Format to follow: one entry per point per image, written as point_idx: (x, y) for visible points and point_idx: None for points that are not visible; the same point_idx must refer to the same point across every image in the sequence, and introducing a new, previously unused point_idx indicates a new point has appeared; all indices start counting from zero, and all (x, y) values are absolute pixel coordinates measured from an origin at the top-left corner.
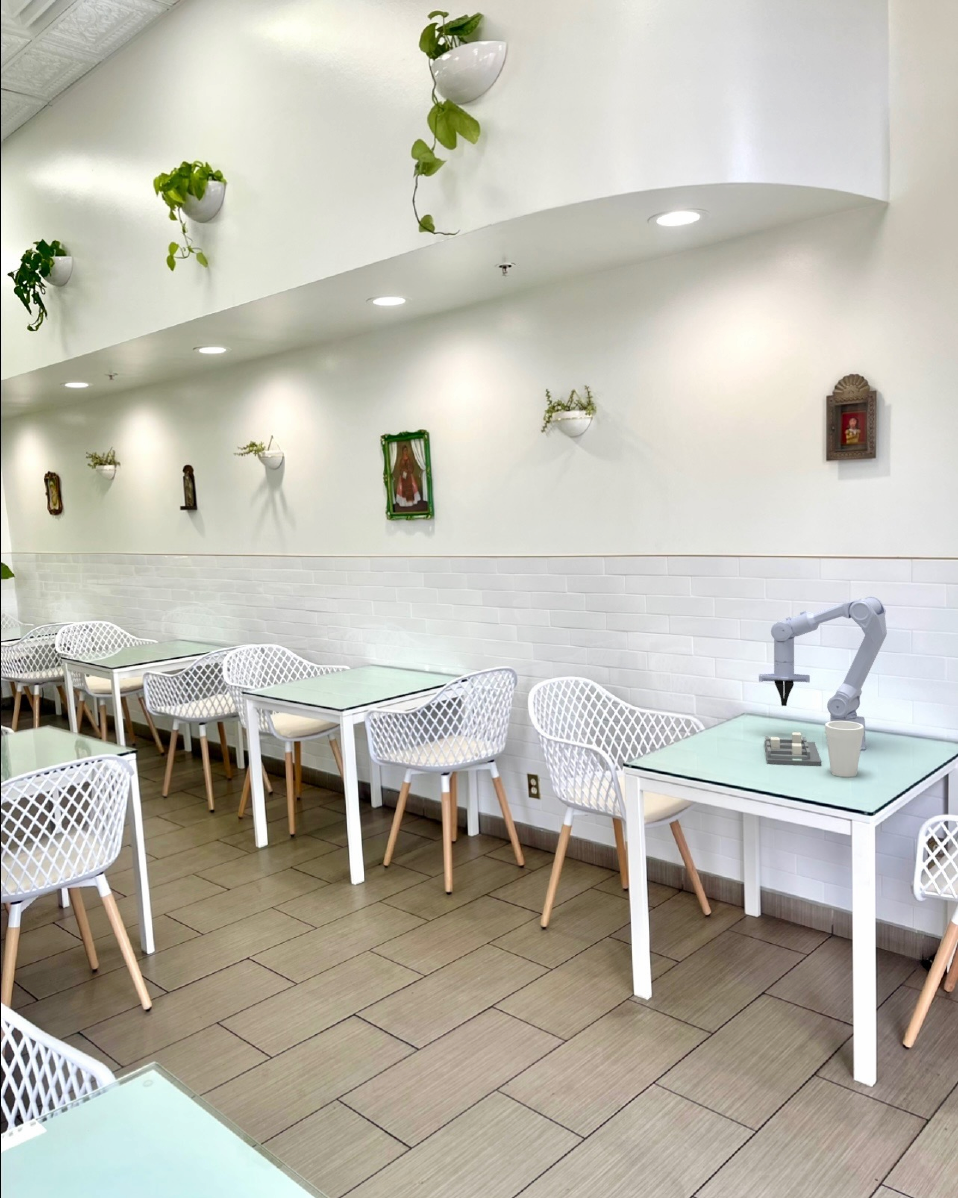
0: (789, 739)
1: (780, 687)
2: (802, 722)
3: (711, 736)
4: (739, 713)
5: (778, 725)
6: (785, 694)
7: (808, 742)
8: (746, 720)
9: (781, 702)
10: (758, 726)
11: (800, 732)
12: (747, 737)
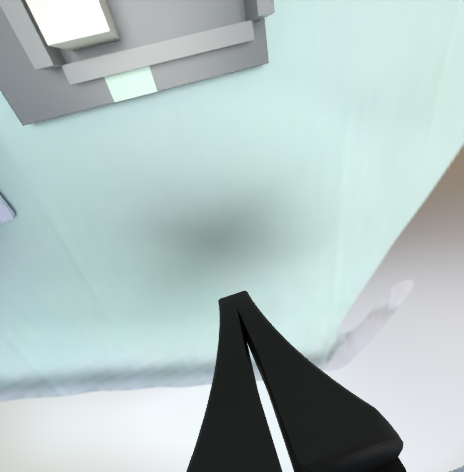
0: (138, 55)
1: (322, 416)
2: (192, 364)
3: (445, 125)
4: (336, 355)
5: None
6: (244, 364)
7: (48, 104)
8: (324, 321)
9: (254, 304)
10: (295, 291)
11: (48, 44)
12: (328, 161)
